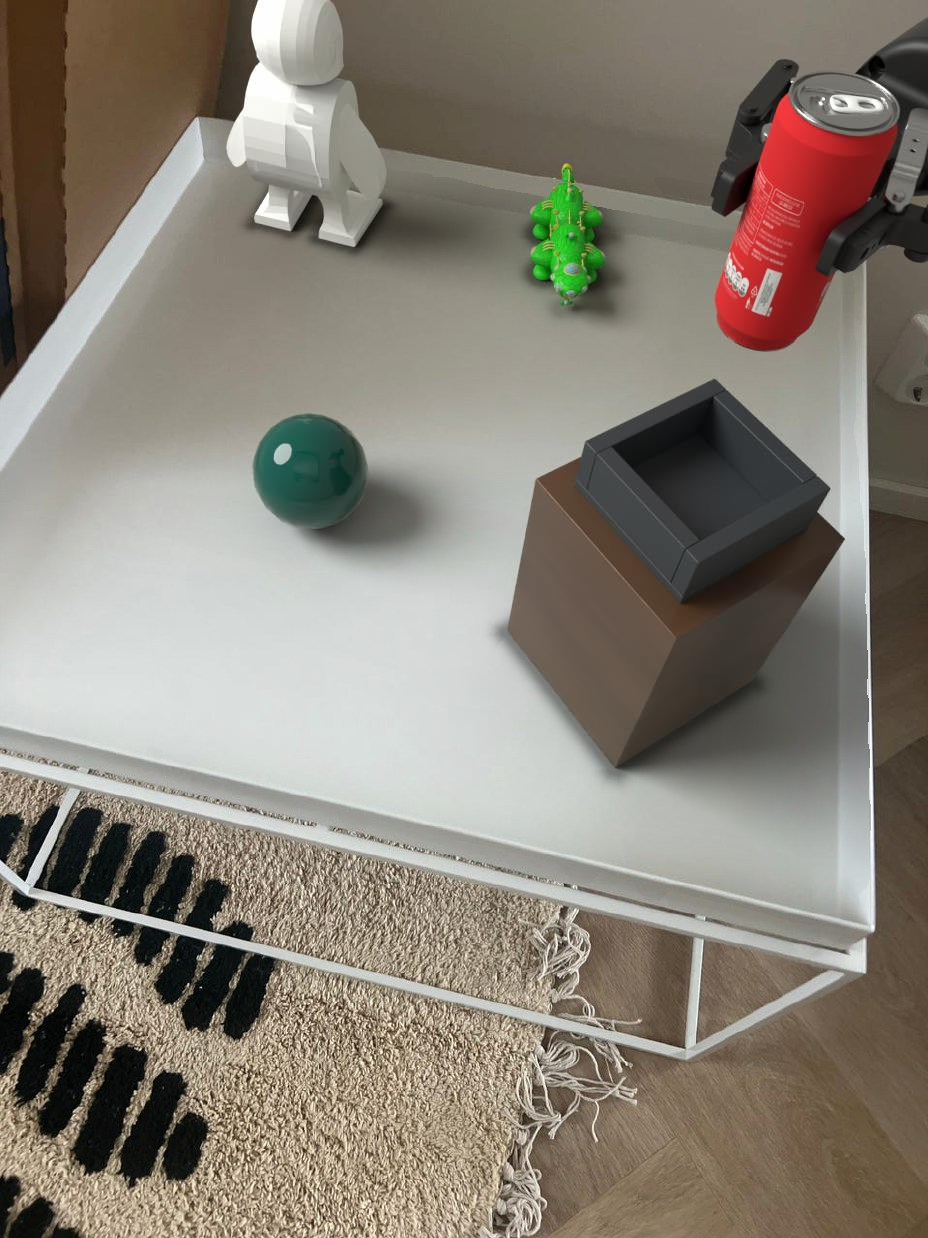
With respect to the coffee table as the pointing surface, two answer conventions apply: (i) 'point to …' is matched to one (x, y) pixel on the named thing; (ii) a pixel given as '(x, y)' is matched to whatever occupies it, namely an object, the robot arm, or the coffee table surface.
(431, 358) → the coffee table surface
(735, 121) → the robot arm
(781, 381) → the coffee table surface
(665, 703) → the stand
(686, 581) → the socket
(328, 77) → the toy robot
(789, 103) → the beverage can
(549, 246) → the crocodile figurine
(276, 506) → the sphere
